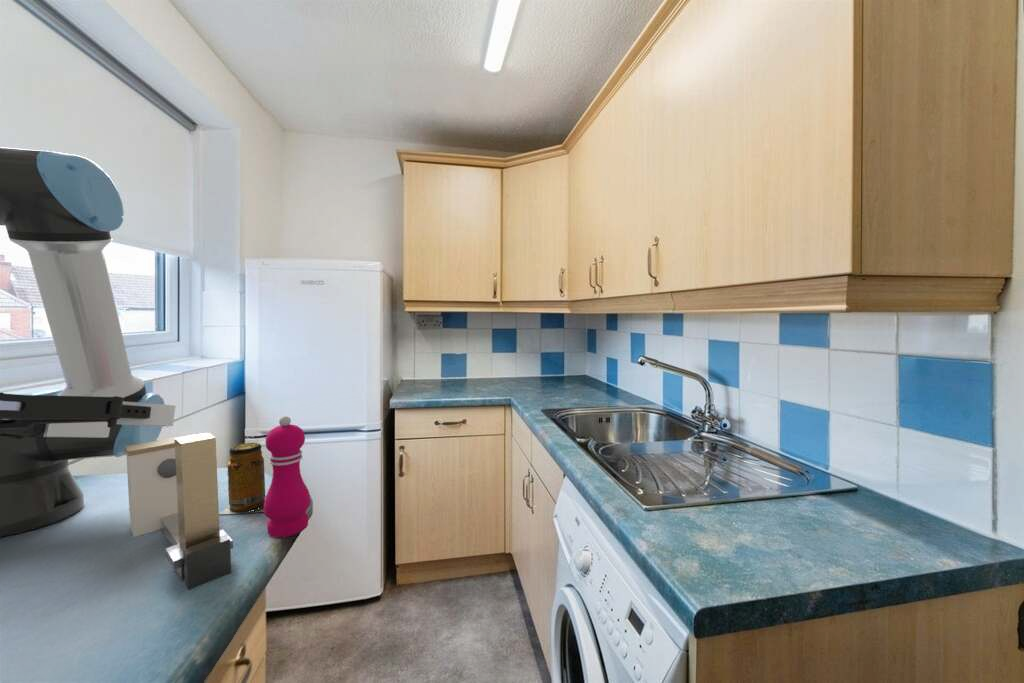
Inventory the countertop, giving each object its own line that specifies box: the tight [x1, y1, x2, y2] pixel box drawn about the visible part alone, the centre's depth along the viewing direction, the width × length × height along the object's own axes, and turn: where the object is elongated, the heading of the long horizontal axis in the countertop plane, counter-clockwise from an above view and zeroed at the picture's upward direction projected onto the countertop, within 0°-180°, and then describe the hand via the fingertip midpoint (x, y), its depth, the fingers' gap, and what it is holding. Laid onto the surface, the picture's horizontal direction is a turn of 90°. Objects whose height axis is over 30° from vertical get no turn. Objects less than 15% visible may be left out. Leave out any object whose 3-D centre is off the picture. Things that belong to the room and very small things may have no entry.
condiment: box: [219, 442, 266, 515], centre depth 80 cm, size 7×8×12 cm
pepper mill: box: [263, 415, 311, 539], centre depth 71 cm, size 7×7×20 cm
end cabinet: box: [124, 433, 199, 538], centre depth 74 cm, size 5×10×15 cm, turn 140°
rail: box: [160, 513, 232, 591], centre depth 65 cm, size 24×5×5 cm, turn 50°
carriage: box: [165, 432, 234, 582], centre depth 60 cm, size 5×7×19 cm
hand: (139, 422), depth 58 cm, fingers open, 13 cm apart
